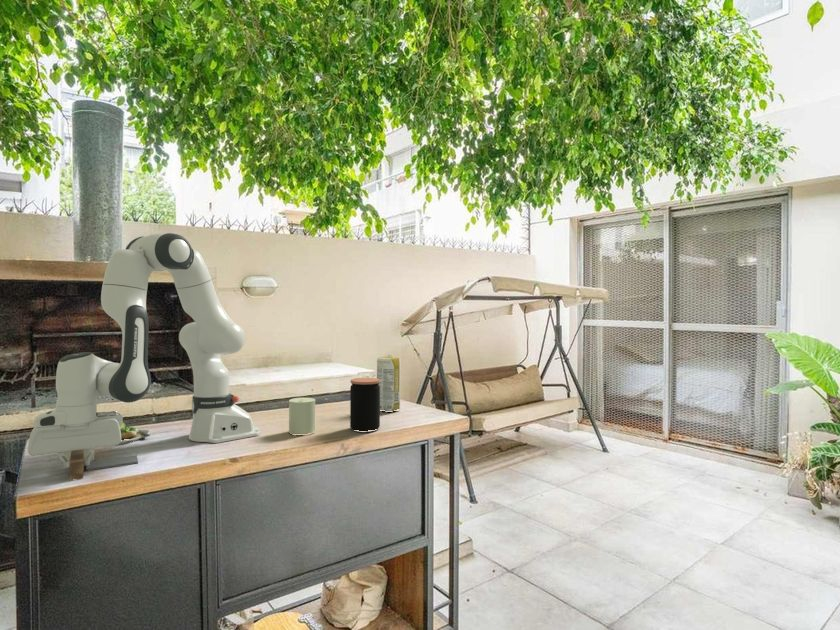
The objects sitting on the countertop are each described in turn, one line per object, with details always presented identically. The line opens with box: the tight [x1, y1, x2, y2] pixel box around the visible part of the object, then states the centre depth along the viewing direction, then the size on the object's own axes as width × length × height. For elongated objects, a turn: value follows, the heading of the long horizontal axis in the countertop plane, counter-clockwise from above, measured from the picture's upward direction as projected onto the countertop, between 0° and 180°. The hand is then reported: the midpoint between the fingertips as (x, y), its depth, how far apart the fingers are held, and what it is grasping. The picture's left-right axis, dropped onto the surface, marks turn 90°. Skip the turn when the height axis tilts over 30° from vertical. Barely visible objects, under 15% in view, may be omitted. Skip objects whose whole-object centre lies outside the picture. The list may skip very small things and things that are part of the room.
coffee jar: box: [349, 377, 381, 431], centre depth 178 cm, size 11×11×18 cm
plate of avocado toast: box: [120, 421, 151, 445], centre depth 164 cm, size 19×18×5 cm
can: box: [288, 397, 316, 434], centre depth 173 cm, size 9×9×12 cm
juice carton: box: [376, 353, 401, 411], centre depth 209 cm, size 9×8×24 cm
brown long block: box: [69, 450, 85, 481], centre depth 130 cm, size 3×12×4 cm, turn 34°
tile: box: [64, 449, 95, 461], centre depth 140 cm, size 7×2×8 cm, turn 122°
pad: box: [85, 454, 139, 472], centre depth 138 cm, size 12×7×1 cm, turn 122°
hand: (77, 466), depth 130 cm, fingers closed on brown long block, 3 cm apart
